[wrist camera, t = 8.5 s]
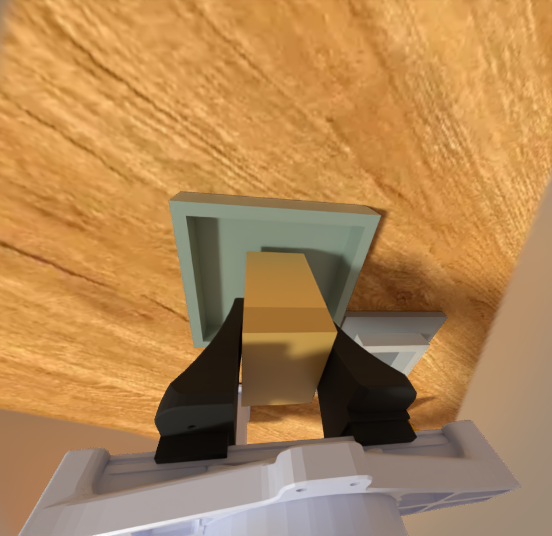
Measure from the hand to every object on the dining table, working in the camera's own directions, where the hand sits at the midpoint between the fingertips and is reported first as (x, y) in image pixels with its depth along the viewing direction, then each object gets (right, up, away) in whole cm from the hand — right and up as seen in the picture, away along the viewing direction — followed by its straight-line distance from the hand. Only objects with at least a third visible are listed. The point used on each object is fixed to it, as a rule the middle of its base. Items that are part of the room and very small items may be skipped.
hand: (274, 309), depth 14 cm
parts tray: (0, +2, +3) cm, 4 cm away
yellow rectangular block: (0, +1, +2) cm, 2 cm away
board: (+11, -8, +11) cm, 17 cm away
